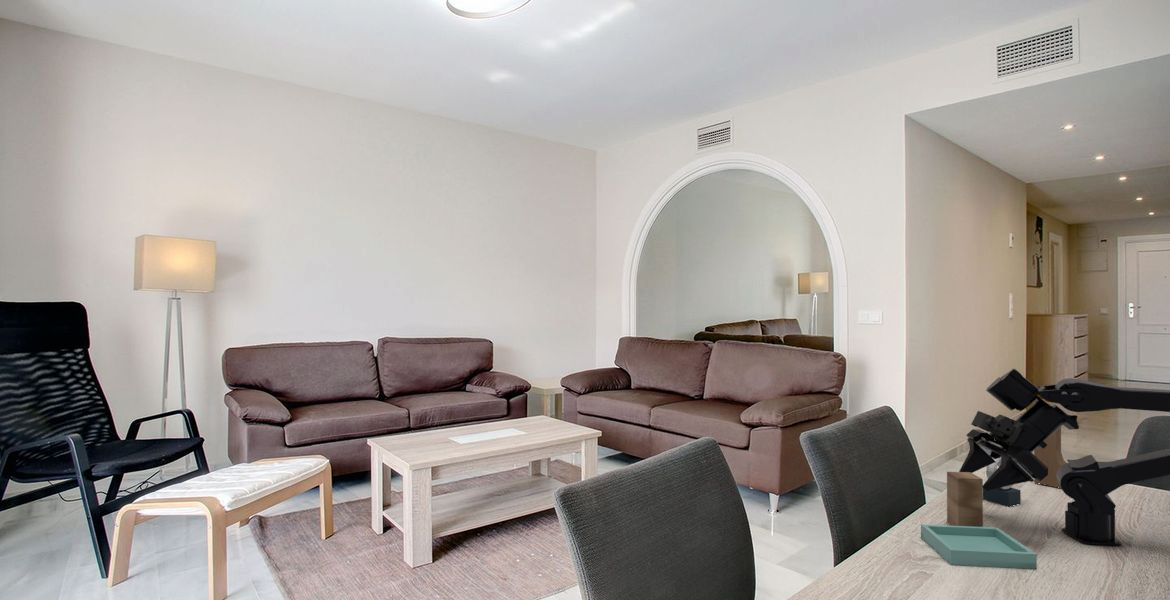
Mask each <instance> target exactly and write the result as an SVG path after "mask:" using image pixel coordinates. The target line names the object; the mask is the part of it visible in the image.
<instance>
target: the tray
mask: <svg viewBox="0 0 1170 600" xmlns="http://www.w3.org/2000/svg"><path fill="white" fill-rule="evenodd" d="M920 538H921V539H922V540H924V542H926V543H927V544H928V545H929V546H930V547H931V548H932V549H933V550H934V551H935V552H936V553H937V554H938V555H940V556H941V558H943V559H944V560H945V561H946V562H947V563H949V565H952V566H953V565H954V566H968V567H969V566H970V567H971V566H972V567H990V568H991V567H993V568H1007V569H1009V568H1010V569H1011V568H1012V569H1029V570H1037V569H1038V568H1037V567H1038V565H1037V564H1038V563H1037V562H1038V559H1037V558H1038V555H1037V553H1035V552H1034V551H1033V550H1031V549H1029V548H1028V547H1026V546H1025V545H1024V544H1022V543H1020V542H1019V541H1018V540H1017V539H1015V538H1013V537H1012V536H1010V535H1009V534H1008V533H1007V532H1005V531H1003V530H1001V529H1000V528H998V527H992V526H983V527H972V526H951V525H949V524H948V525H946V524H944V525H942V524H925V523H922V524H920Z"/></svg>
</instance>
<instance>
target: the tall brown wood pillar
mask: <svg viewBox="0 0 1170 600" xmlns="http://www.w3.org/2000/svg"><path fill="white" fill-rule="evenodd" d="M983 482H984V481H983V478H981V477H980V476H977V475H976V474H974V472H973V473H971V472H959V471H946V523H947V524H948V525H949V526H972V527H984V524H983V523H984V521H983V519H984V513H983V511H984V503H983V501H984V499H983V485H984V483H983Z"/></svg>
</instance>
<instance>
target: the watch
mask: <svg viewBox="0 0 1170 600" xmlns="http://www.w3.org/2000/svg"><path fill="white" fill-rule="evenodd" d="M994 460H995V461H996V462H995V463H993V464H990V465H988V466H986V471H985V473H986V477H987V480H988V479H989V477H990V476H991V475H992V474H993V473H994V472H995V471H996V470H997V469H998V468H997V467H999V466H1000V465H1001V457H1000V458H998V459H994ZM1013 485H1014V484H1013ZM1013 485H1009V486H1005V487H1001V488H997V489H993V490H989V491H986V490H985V489H984V488H983V501H984V500H985V501H988V502H991V503H994V504H997V505H1001V506H1004V505H1005V506H1004V507H1007V506H1008V508H1010V506H1011V507H1014V506H1013V505H1015V506H1018V505H1017V504H1019V505H1021V501H1022V499H1021V498H1022V497H1021V490H1020V489H1017V488H1014V487H1013Z"/></svg>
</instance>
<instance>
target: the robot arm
mask: <svg viewBox="0 0 1170 600" xmlns="http://www.w3.org/2000/svg"><path fill="white" fill-rule="evenodd" d="M985 391H986V392H987V393H988V394H990V395H991V396H992V397H994V399H996V401H998V402H999V403H1001V404H1002V405H1003V406H1004V407H1006V408H1007V410H1010V411H1014V410H1016V411H1019V412H1022V411H1023V410H1025V409H1027V408H1028V407H1029V406H1030V407H1029V408H1028V409H1027V410H1025V412H1023V413H1022V414H1021V415H1020V416H1018V417H1017V419H1012V418H1010V417H1007V416H1005V415H1002V414H998V415H997V416H993V415H990V414H988V413H985V412H982V411H979V410H978V411H976V414H975V416H974V417H973V420H972V421H971V423H970V425H972V426H973V427H976V429H975V428H974V429H973V428H972V430H970V431H969V432H968V433H967V434H965V435H966V437H967V442H968V445H969V451H968V453H967V456H966V458H965V459H964V462H963V463H962V465H961V467H960V469H959V471H958V472H971V473H973V474H974V473H975V472H977V471H979V470H981V469H984V468H985V467H986V468H987V466H988V465H990V464H993V463H995V462H996V461H995V460H994V459H998V458H1000V457H1001V465H1000V466H998V468H997V470H996V471H995V472H994V473H993V474H992V475H991V476H990V477H989V479H988V478H987V479H986V481H985V482H984V483H983V488H984V489H985V490H986V491H989V490H993V489H997V488H1001V487H1005V486H1009V485H1016V484H1021V483H1028V482H1031V483H1032V482H1034V479H1036V480H1038V481H1042V480H1043V479H1044V478H1045V477H1046V476H1047V475H1048V467H1046V466H1045V465H1044V464H1043V463H1042V462H1041V461H1040V460H1039V459H1038V458H1037V457H1036V456H1035V455H1034V453H1033V452H1034V450H1035V449H1036V448H1037V447H1041V448H1043V449H1044V448H1045V447H1046V446H1047V444H1046V443H1045V442H1044V441H1045V440H1046V439H1048V438H1049V437H1050V436H1051V435H1052V434H1053V433H1054V432H1056V431H1057V430H1058V429H1059V428H1060V427H1061V428H1062V427H1063V426H1064V427H1065V428H1067V429H1068V430H1071V431H1072V430H1079V428H1080V426H1079V423H1078V415H1076V414H1074V415H1073V414H1071V415H1070V414H1068V413H1067V412H1065V410H1063V409H1066V410H1067V411H1070V412H1074V413H1085V412H1086V413H1087V412H1100V411H1101V412H1102V411H1108V410H1109V411H1110V410H1118V409H1119V410H1120V409H1121V410H1122V409H1123V410H1124V409H1125V410H1136V411H1137V410H1138V411H1139V410H1140V411H1148V412H1149V411H1150V412H1151V411H1152V412H1166V413H1170V389H1159V388H1157V389H1156V388H1139V387H1137V388H1136V387H1135V388H1134V387H1120V386H1119V387H1117V386H1112V385H1106V384H1102V383H1098V382H1094V381H1089V380H1084V379H1083V380H1082V379H1077V378H1064V379H1061V380H1060V381H1058V382H1057V383H1056V384H1048V385H1047V384H1045V385H1037V386H1036V385H1035V384H1033V383H1032V382H1031V381H1030V380H1028V379H1027V378H1025V377H1024V375H1022V373H1021V372H1020V371H1018V370H1017V369H1016V368H1012V369H1011V370H1009V371H1008V372H1006V373H1005V374H1003V375H1002V376H1001V377H997V378H996V379H995V380H994V381H992V382H991V384H989V386H988V387H986V390H985ZM1039 396H1040V397H1041V398H1040V397H1039ZM1044 400H1045V401H1044ZM1047 402H1048V403H1047ZM1033 403H1034V404H1033ZM1049 403H1054V404H1052V405H1051V404H1049ZM1031 404H1032V405H1031ZM1056 404H1059V405H1060V406H1061V407H1063V409H1062V408H1060V407H1059V406H1057V405H1056ZM977 428H978V429H977ZM1066 462H1067V463H1066V464H1064V465H1062V466H1060V467H1059V469H1058V471H1057V475H1056V477H1057V480H1058V483H1059V485H1060V487H1061V489H1060V490H1062V491H1063V493H1064V494H1065V495H1066V496H1067V497H1069V499H1072V500H1073V501H1071V502H1070V501H1069V502H1068V501H1067V503H1066V504H1067V510H1065V512H1064V518H1065V519H1064V527H1062V528H1061V531H1062V533H1065V534H1066V535H1068V536H1071V538H1074V539H1075V540H1077V541H1079V542H1080V543H1082V544H1085V545H1099V546H1101V545H1104V546H1105V545H1106V546H1123V542H1122V541H1119V540H1117V539H1116V503H1115V502H1114V501H1113V499H1112V498H1111V497H1110V495H1109V494H1110V493H1113V492H1114V491H1116V490H1118V489H1119V488H1121V487H1123V486H1126V485H1129V484H1135V483H1139V482H1145V481H1149V480H1154V479H1158V478H1164V477H1168V476H1170V447H1169V448H1166V449H1160V450H1156V451H1152V452H1148V453H1143V454H1140V455H1135V456H1130V457H1126V458H1121V459H1117V460H1111V461H1097V460H1096V459H1095V457H1094V456H1093V455H1092V454H1089V455H1085V456H1082V457H1080V458H1078V459H1077V458H1075V459H1070V458H1069V459H1066Z"/></svg>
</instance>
